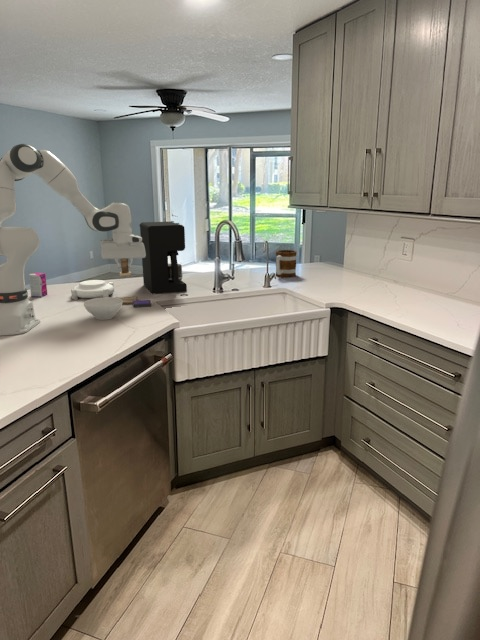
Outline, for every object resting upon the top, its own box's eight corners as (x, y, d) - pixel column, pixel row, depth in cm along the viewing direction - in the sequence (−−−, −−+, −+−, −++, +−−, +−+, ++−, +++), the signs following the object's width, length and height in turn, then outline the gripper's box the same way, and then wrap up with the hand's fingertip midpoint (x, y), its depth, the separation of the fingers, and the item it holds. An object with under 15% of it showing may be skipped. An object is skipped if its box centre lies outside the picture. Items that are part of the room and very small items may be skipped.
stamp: (130, 276, 215) (129, 256, 212) (119, 276, 214) (118, 257, 211) (131, 274, 219) (129, 255, 217) (120, 274, 219) (118, 255, 216)
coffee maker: (190, 292, 239) (187, 224, 229) (153, 296, 233) (149, 226, 223) (177, 282, 264) (174, 220, 254) (143, 285, 258) (139, 221, 248)
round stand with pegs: (60, 296, 234) (58, 282, 232) (100, 288, 251) (99, 275, 249) (86, 304, 219) (84, 289, 217) (127, 295, 236) (126, 281, 234)
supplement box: (41, 297, 230) (38, 275, 227) (30, 297, 231) (27, 274, 228) (48, 294, 236) (45, 272, 232) (37, 294, 237) (35, 272, 234)
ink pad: (151, 306, 213) (150, 303, 213) (133, 307, 211) (133, 304, 211) (150, 302, 220) (150, 299, 220) (133, 303, 219) (133, 300, 218)
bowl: (84, 314, 200) (82, 299, 198) (121, 311, 206) (120, 295, 204) (86, 324, 186) (84, 307, 184) (126, 320, 191) (124, 304, 189)
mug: (280, 272, 293) (280, 249, 288) (300, 274, 286) (300, 250, 282) (266, 278, 276) (267, 253, 272) (287, 280, 270) (288, 254, 266)
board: (137, 303, 217) (137, 301, 217) (111, 305, 215) (111, 303, 215) (137, 298, 229) (137, 295, 228) (113, 299, 226) (112, 297, 226)
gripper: (98, 239, 207) (101, 269, 211) (144, 238, 211) (146, 268, 214) (100, 238, 213) (102, 267, 217) (144, 237, 217) (146, 266, 220)
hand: (124, 267), depth 216 cm, fingers closed on stamp, 3 cm apart
